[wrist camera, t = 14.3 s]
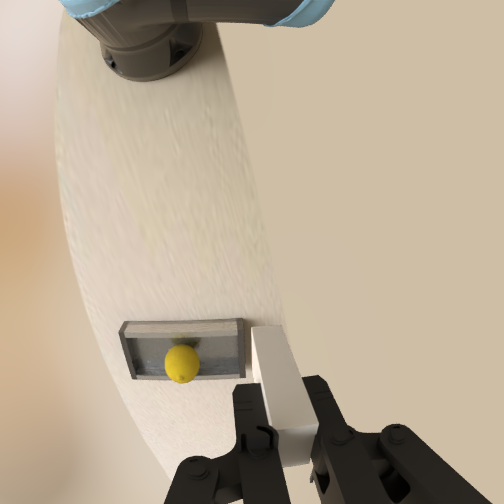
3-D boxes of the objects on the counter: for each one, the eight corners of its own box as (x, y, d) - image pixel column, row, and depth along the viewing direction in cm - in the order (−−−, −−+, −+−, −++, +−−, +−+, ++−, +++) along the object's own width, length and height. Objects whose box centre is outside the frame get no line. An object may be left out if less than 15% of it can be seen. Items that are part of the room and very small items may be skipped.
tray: (124, 321, 45) (118, 332, 42) (242, 318, 47) (243, 329, 43) (136, 367, 48) (132, 379, 44) (244, 365, 50) (245, 377, 46)
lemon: (183, 366, 47) (179, 397, 40) (161, 345, 46) (153, 375, 38) (207, 351, 47) (206, 382, 39) (185, 329, 45) (180, 359, 38)
